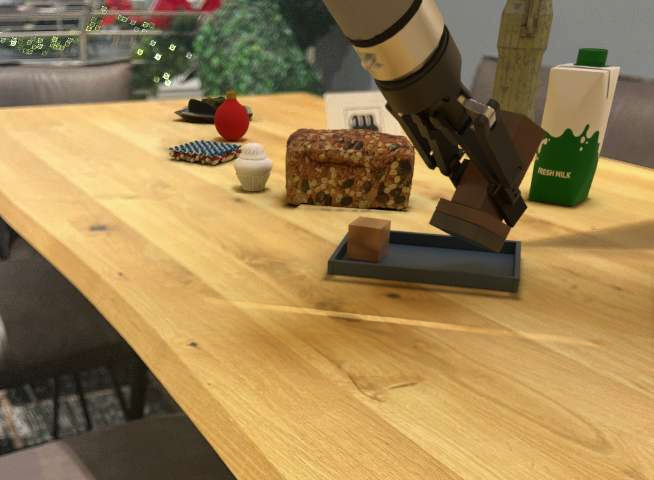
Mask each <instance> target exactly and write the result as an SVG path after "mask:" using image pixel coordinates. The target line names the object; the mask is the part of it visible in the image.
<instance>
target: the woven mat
mask: <svg viewBox="0 0 654 480" xmlns="http://www.w3.org/2000/svg"><path fill="white" fill-rule="evenodd" d="M242 147H243V145H241V144H240V145H238V144H236V143H234V144H232V143H229V142H227V143H226V142H218V141H210V140H204V139H202V140H199V141H198V140H194V141H189V142H188V143H186V142H185V143H184V144H179V145H175V146H174V147H169V148H168V150H171V152H169V153H168V155H169V157H171V158H175V160H176V161H180V160H182V161H187V162H191V163H195V162H201V164H202V165H204V164H211V165H212V166H215V165H217V164H219V162H221V163H225V162H227V161H231V160H232V159H233V158H236V159H237V158H238V157H239V155H240V154H241V153H242Z"/></svg>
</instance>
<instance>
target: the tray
mask: <svg viewBox="0 0 654 480" xmlns="http://www.w3.org/2000/svg"><path fill="white" fill-rule="evenodd" d="M347 243H348V232H347V233H346V234H344V236H343V238H342V240H341V241H340V242H339V244H338V245H337V247H336V248H335V249H334V251H333V253H332V254H331V255H330V257H329V258H328V260H327V270H326V271H327V275H333V276H334V275H335V276H343V277H344V276H345V277H354V278H365V279H375V280H385V281H397V282H403V283H404V282H405V283H414V284H425V285H435V286H444V287H445V286H446V287H456V288H466V289H476V290H484V291H495V292H496V291H497V292H506V293H517V294H518V291H519V286H520V280H521V259H522V241H521V240H511V239H506V240H505V242H504V244H503V246H502V248H501V250H500V252H499V254H497V253H494V252H492V251H489V250H486V249H484V248H481V247H479V246H476V245H473V244H471V243H468V242H466V241H463V240H460V239H458V238H455V237H453V236H451V235H449V234H442V233H441V234H440V233H428V232H417V231H406V230H394V229H393V230H392V229H390V239H389V250H388V254H387V255H386V256H385V257H384V258H383V259H382V260H380V261H379V262H378V263H375V262H369V261H362V260H355V259H348V258H347Z"/></svg>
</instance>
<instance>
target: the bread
mask: <svg viewBox="0 0 654 480" xmlns="http://www.w3.org/2000/svg"><path fill="white" fill-rule="evenodd" d="M285 147H286V149H285V169H284V170H285V187H284V188H285V191H286V192H285V193H286V204H287V205H294V206H298V205H300V204H308V205H311V206H318V207H319V206H321V207H331V208H345V209H356V210H357V209H358V210H370V209H375V208H376V209H378V208H382V209H396V210H402V209H405V208H408V206H409V202H410V196H411V193H412V186H413V178H414V173H415V171H414V170H415V162H416V151H415V150H416V149H415V147H414V146H413V144H412V143H411V141H410V139H409V138H408V136H405V135H400V134H399V135H397V134H390V133H388V132H381V131H375V130H372V129H363V128H359V129H357V128H356V129H355V128H340V129H329V128H328V129H325V128H321V129H315V128H303V127H302V128H298V129H297V130H296V131H293V132H292V133H291V134H289V136H288V138H287V140H286V146H285Z"/></svg>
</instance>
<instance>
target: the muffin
mask: <svg viewBox="0 0 654 480" xmlns="http://www.w3.org/2000/svg"><path fill="white" fill-rule="evenodd" d="M241 149H242V151H241V152H242V153H241V154H240V155H239V157H238V158H237V157H236V159H235V160H234V162H233V169H234V171H235V175H236V177H237V180H238V181H239V183H240V185H241V187H242V189H243V190H244V191H247V192H259V191H263V190H264V188H265V187H266V184H267V183H268V181H269V178H270V176H271V172H272V171H273V170H272V169H273V162H272V160H271V159H270V158H269V157H268V155H267V153H266V152H265V148H264V146H263V145H262V144H261V143H258V142H254V141H252V142H247V143H245V144H244V145H242V147H241Z"/></svg>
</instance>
